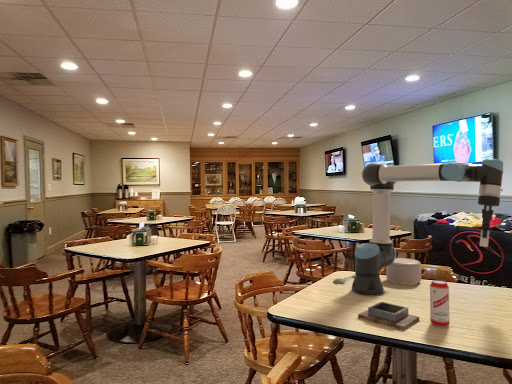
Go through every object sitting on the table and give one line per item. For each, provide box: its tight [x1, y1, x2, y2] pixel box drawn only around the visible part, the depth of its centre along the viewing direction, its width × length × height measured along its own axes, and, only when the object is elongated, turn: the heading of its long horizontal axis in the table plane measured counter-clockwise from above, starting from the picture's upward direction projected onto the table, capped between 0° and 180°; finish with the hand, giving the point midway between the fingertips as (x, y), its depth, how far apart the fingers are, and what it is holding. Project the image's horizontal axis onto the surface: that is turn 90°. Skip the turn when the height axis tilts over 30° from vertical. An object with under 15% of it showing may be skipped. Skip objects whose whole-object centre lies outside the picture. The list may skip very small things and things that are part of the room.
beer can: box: [429, 279, 451, 328], centre depth 128 cm, size 6×6×16 cm
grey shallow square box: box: [367, 301, 409, 323], centre depth 134 cm, size 11×11×3 cm
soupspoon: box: [332, 274, 355, 285], centre depth 195 cm, size 22×3×7 cm
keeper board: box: [357, 309, 420, 331], centre depth 134 cm, size 18×14×2 cm
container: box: [385, 257, 422, 286], centre depth 193 cm, size 18×18×12 cm
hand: (483, 246), depth 143 cm, fingers open, 13 cm apart
